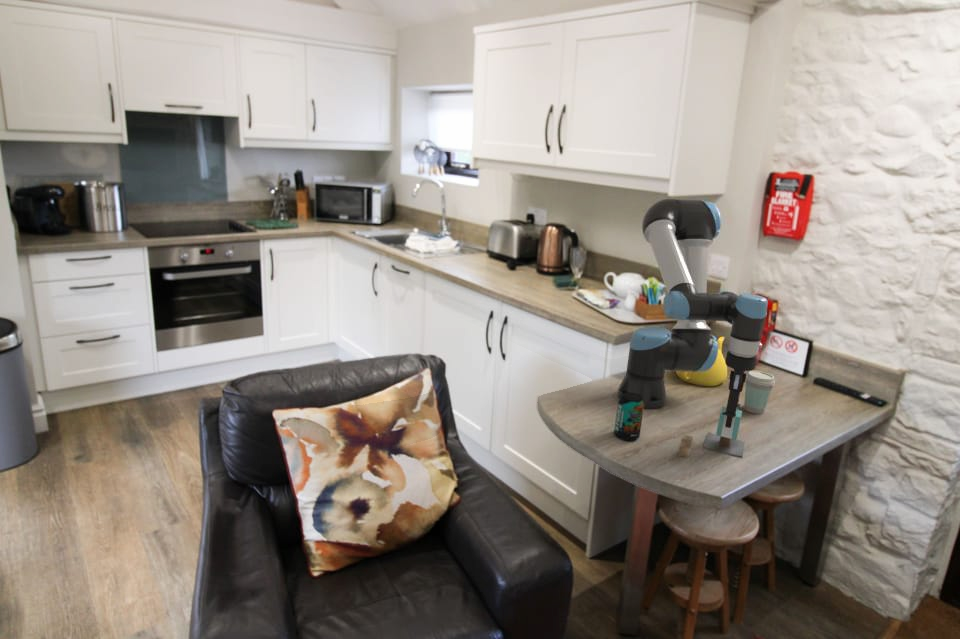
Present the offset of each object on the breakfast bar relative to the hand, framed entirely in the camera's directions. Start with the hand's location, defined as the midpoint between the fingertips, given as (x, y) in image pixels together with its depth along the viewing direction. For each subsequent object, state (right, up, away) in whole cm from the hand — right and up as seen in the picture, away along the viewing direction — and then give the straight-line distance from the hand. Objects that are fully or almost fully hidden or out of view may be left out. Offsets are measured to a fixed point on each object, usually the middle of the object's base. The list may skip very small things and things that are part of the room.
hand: (727, 432), depth 172 cm
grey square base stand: (0, -4, +1) cm, 4 cm away
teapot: (+11, +10, +52) cm, 54 cm away
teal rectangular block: (0, 0, 0) cm, 0 cm away
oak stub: (-14, -5, -6) cm, 15 cm away
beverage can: (-27, -2, +3) cm, 27 cm away
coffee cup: (+19, +2, +27) cm, 33 cm away
